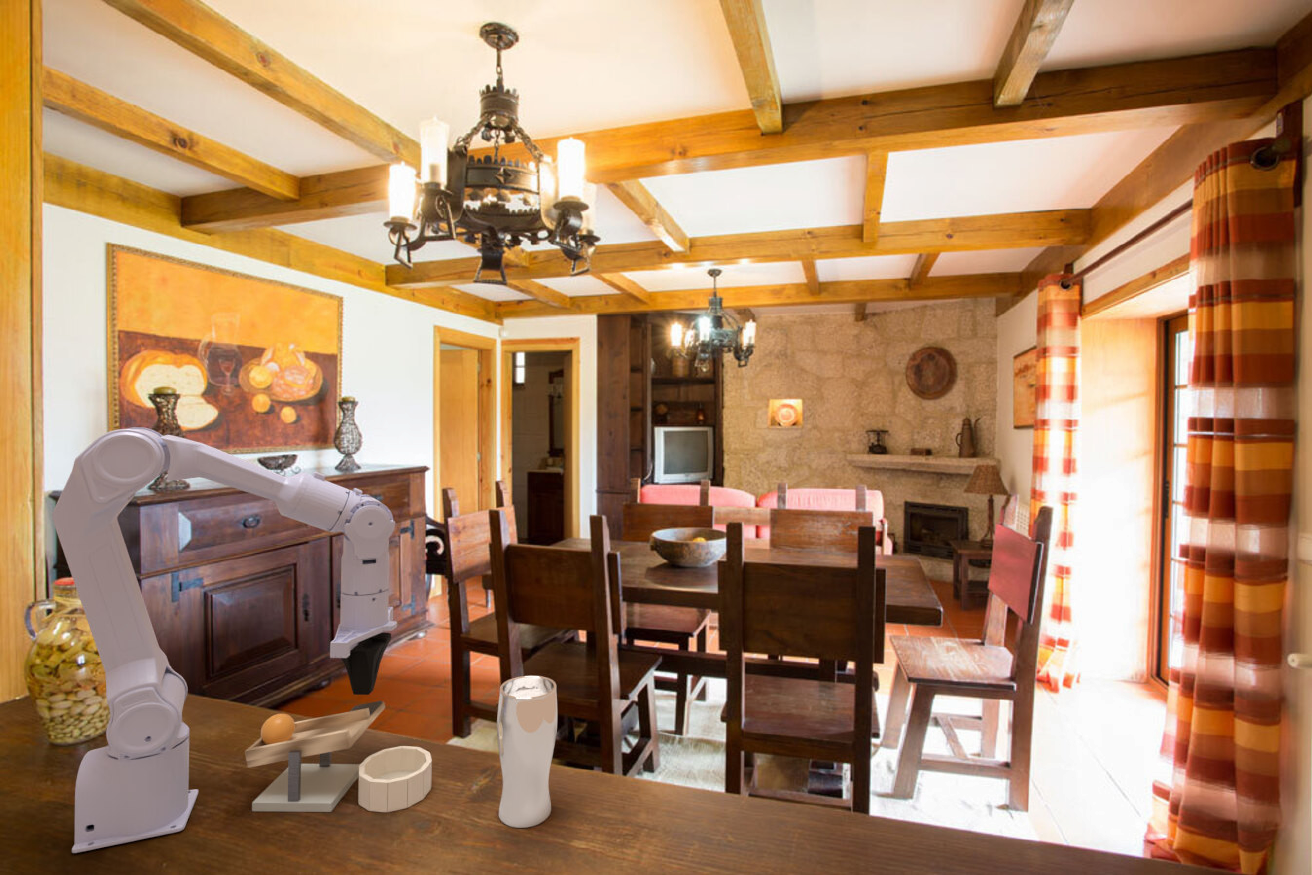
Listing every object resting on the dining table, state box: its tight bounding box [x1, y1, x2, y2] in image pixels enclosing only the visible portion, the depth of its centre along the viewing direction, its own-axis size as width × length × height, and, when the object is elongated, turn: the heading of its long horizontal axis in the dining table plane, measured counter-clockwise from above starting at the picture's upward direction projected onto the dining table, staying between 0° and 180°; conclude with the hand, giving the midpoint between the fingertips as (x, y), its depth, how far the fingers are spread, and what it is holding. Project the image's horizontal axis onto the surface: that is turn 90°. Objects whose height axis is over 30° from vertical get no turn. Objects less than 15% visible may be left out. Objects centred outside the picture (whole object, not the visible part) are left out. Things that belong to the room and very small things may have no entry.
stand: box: [251, 750, 361, 813], centre depth 77 cm, size 9×8×7 cm
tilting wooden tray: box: [244, 700, 386, 768], centre depth 79 cm, size 12×11×2 cm
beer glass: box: [496, 675, 558, 829], centre depth 74 cm, size 7×7×15 cm
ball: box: [260, 713, 296, 745], centre depth 77 cm, size 4×4×4 cm
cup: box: [357, 745, 433, 813], centre depth 78 cm, size 8×8×4 cm
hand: (363, 692), depth 83 cm, fingers closed
